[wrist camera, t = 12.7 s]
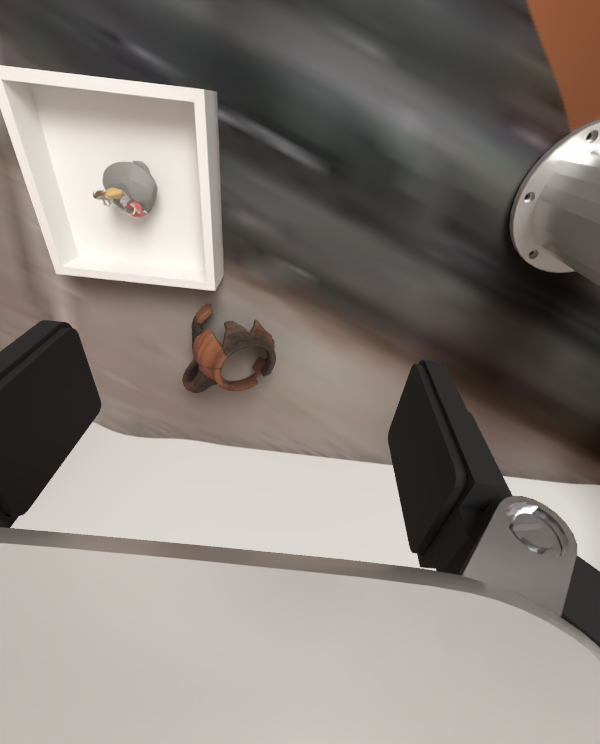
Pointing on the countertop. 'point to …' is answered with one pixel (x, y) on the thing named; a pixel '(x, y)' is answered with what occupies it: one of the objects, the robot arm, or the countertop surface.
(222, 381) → the brown two-tone ridged part
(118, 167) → the figurine
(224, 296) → the countertop surface
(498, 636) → the robot arm
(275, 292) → the countertop surface
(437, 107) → the countertop surface
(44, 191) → the bin
